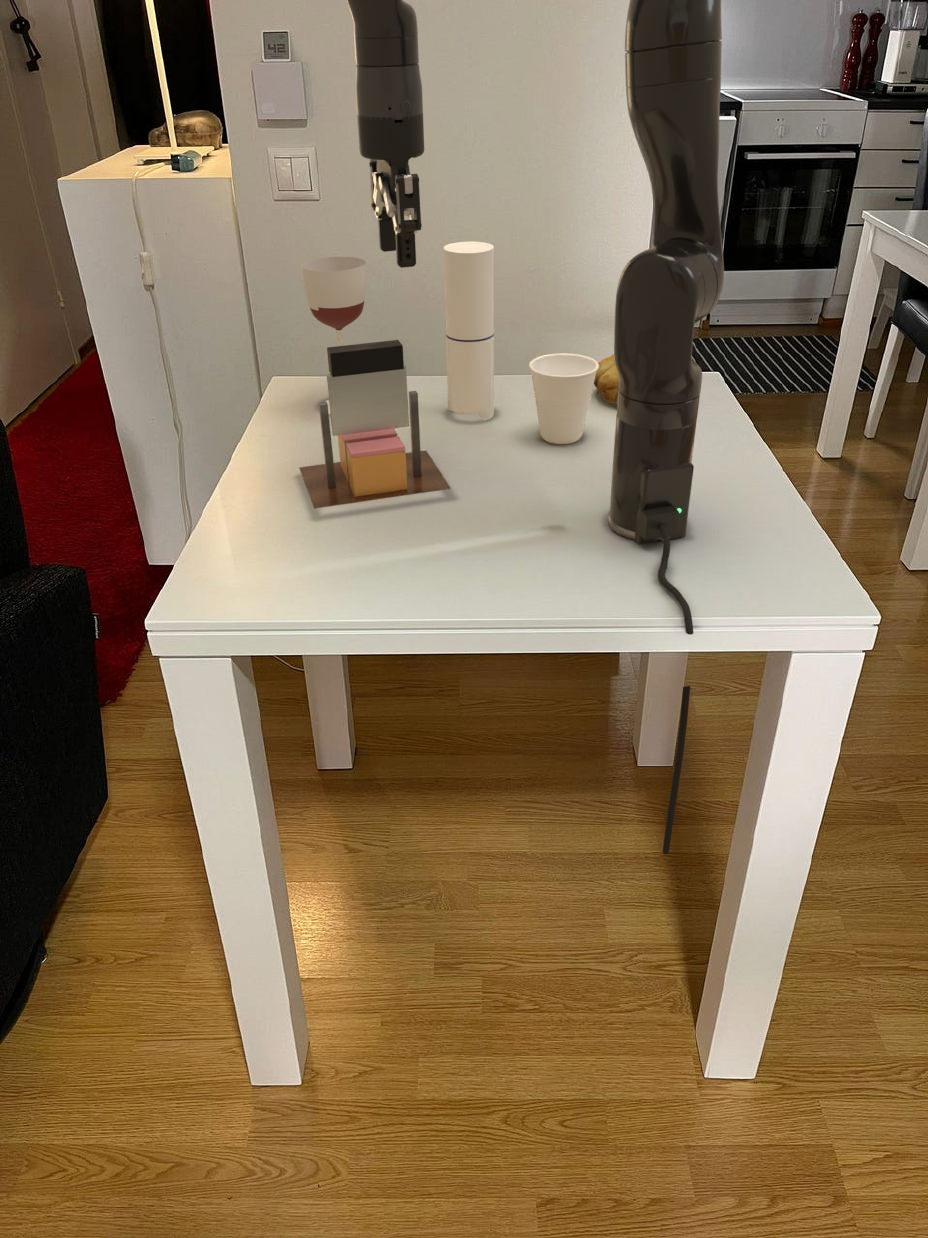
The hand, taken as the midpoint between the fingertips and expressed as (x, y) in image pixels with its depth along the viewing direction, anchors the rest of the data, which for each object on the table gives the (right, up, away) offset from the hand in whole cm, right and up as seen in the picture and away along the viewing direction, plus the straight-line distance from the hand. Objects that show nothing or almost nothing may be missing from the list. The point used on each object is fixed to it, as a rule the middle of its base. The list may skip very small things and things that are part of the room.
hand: (397, 258), depth 119 cm
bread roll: (+34, -9, +37) cm, 51 cm away
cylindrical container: (+9, -12, +33) cm, 36 cm away
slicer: (-4, -27, +11) cm, 29 cm away
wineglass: (-11, -10, +37) cm, 40 cm away
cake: (-4, -25, +10) cm, 28 cm away
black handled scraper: (-4, -20, +6) cm, 21 cm away
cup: (+23, -18, +25) cm, 38 cm away
